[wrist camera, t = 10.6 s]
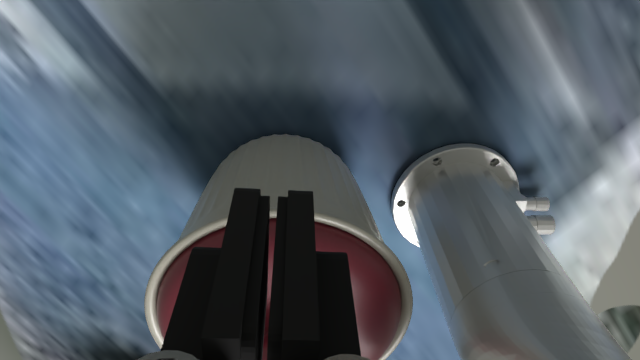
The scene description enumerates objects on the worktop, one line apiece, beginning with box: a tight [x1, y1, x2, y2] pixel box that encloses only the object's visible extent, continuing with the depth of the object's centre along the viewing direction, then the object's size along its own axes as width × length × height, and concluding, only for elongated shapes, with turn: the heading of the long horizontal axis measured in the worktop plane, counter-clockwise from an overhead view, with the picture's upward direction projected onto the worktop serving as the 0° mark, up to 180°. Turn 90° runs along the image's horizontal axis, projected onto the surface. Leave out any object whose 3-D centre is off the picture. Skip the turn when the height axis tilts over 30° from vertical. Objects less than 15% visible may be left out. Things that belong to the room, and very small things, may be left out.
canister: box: [144, 134, 413, 360], centre depth 37 cm, size 18×18×21 cm
